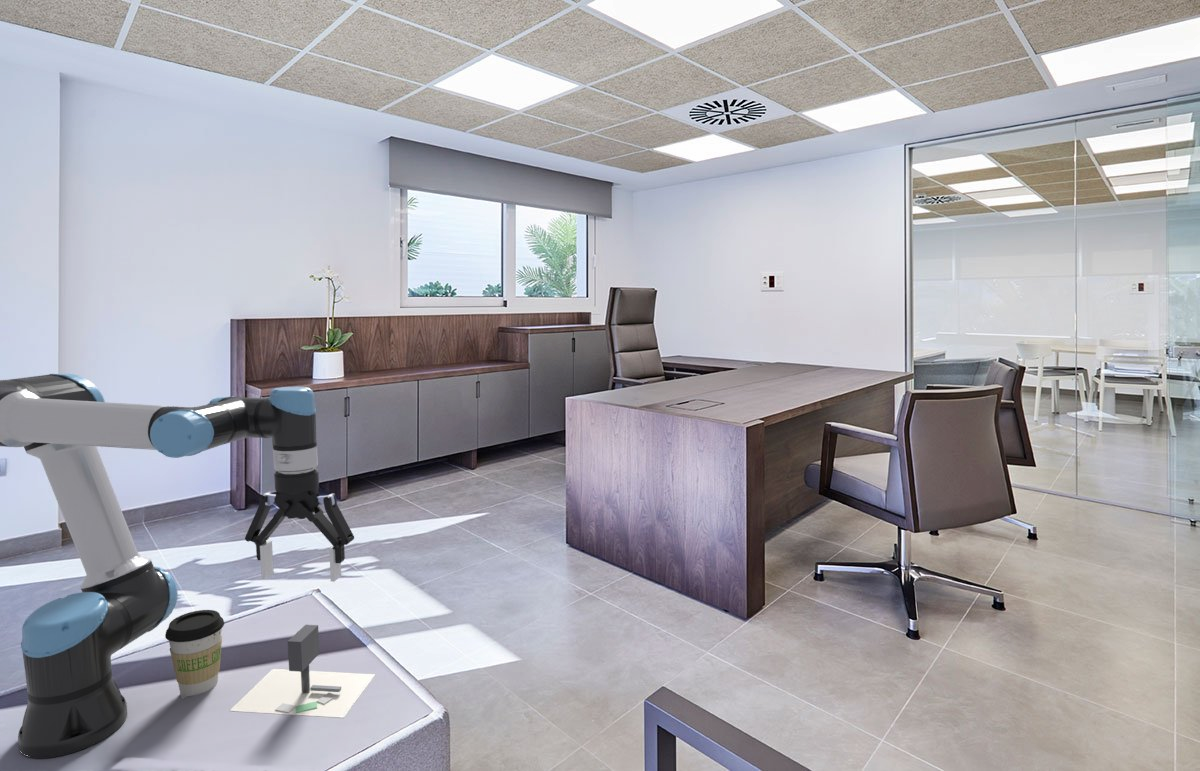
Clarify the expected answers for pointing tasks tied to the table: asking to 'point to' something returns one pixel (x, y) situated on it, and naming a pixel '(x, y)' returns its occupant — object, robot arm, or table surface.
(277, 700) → the flat cream board
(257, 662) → the table surface
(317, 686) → the dark grey angular piece
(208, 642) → the coffee cup
